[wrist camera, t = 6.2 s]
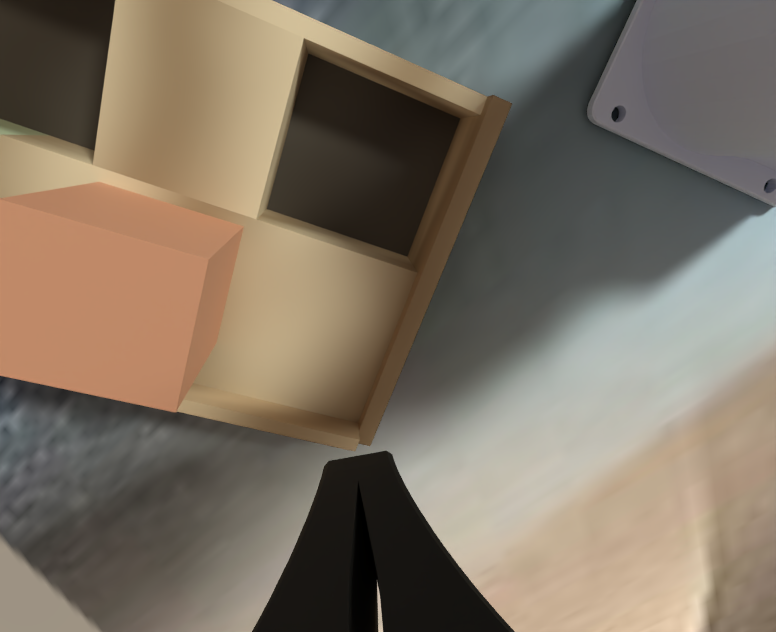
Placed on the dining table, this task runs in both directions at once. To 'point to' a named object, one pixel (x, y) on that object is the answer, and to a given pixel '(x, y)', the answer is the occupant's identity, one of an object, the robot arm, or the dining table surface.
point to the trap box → (261, 181)
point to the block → (111, 292)
